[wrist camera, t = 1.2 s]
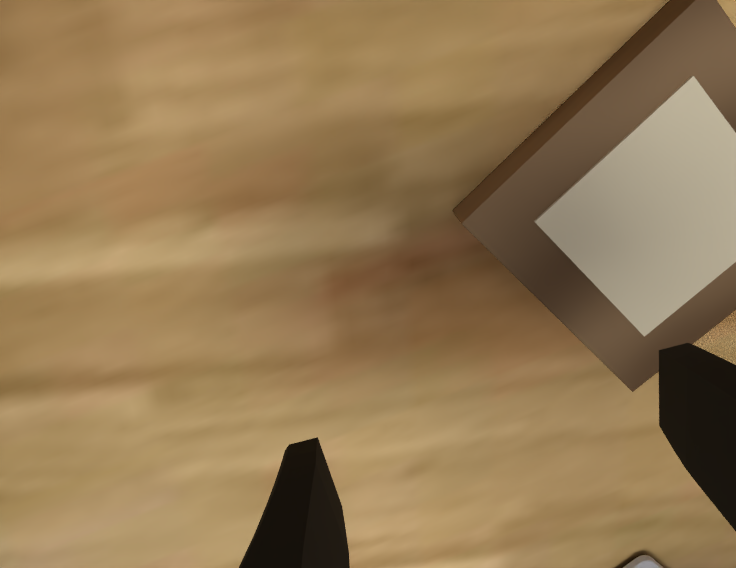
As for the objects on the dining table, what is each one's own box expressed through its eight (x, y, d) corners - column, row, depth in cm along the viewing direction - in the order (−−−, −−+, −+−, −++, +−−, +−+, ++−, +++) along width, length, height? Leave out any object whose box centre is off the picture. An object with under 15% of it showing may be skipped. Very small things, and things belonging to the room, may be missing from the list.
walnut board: (828, 198, 23) (863, 210, 22) (615, 371, 26) (633, 393, 24) (681, -11, 20) (710, -12, 18) (452, 210, 22) (462, 224, 21)
